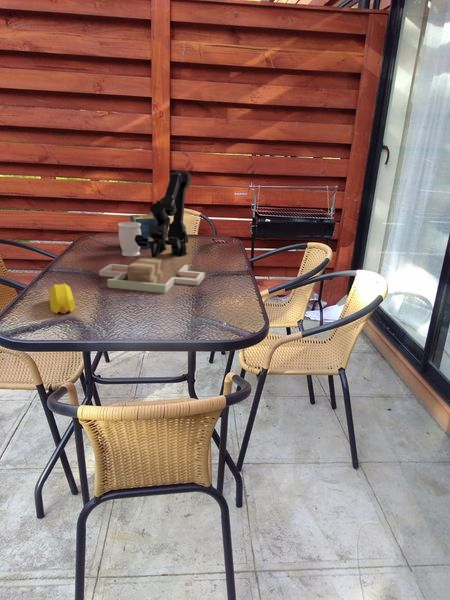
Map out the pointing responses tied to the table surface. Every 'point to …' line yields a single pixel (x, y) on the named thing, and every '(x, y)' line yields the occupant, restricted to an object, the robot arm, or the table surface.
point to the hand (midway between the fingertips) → (153, 259)
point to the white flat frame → (120, 274)
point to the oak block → (146, 270)
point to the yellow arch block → (61, 299)
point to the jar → (129, 238)
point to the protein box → (144, 224)
